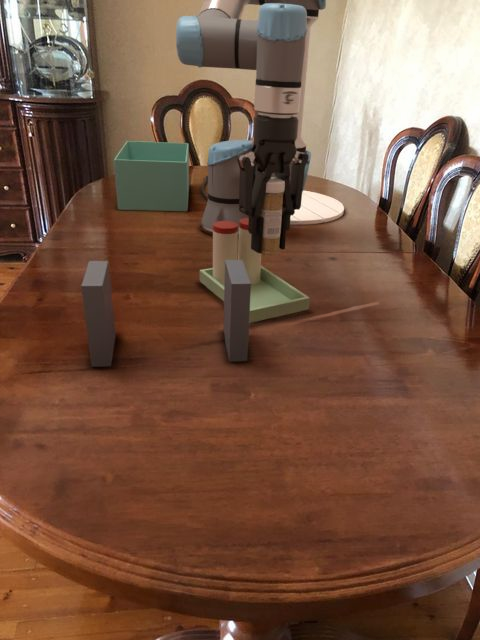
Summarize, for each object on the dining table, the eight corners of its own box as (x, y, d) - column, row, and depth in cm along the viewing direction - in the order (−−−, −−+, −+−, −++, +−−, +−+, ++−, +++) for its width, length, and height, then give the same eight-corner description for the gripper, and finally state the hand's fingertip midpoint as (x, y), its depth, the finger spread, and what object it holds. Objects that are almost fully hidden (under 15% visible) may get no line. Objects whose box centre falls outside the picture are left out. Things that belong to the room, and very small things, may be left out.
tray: (199, 284, 114) (199, 269, 112) (253, 274, 120) (254, 260, 118) (249, 326, 98) (250, 310, 96) (308, 312, 105) (310, 297, 103)
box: (117, 209, 158) (113, 159, 151) (129, 184, 185) (126, 140, 178) (187, 211, 160) (186, 162, 153) (189, 186, 188) (188, 143, 180)
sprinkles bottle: (278, 248, 102) (283, 177, 95) (280, 256, 98) (286, 182, 91) (254, 247, 101) (258, 175, 94) (256, 256, 97) (260, 181, 91)
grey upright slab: (229, 361, 87) (231, 283, 80) (223, 332, 95) (224, 259, 88) (247, 361, 87) (251, 283, 80) (239, 332, 96) (242, 259, 89)
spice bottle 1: (208, 282, 113) (208, 222, 106) (229, 279, 115) (230, 219, 108) (219, 291, 109) (220, 229, 102) (240, 287, 111) (242, 226, 105)
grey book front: (91, 367, 83) (80, 285, 76) (98, 336, 92) (89, 260, 85) (110, 366, 84) (102, 285, 77) (115, 336, 92) (108, 260, 85)
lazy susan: (248, 229, 149) (249, 217, 147) (205, 194, 179) (205, 183, 178) (367, 219, 164) (368, 208, 162) (308, 188, 194) (309, 179, 192)
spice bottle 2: (233, 278, 115) (234, 219, 109) (252, 274, 118) (255, 216, 111) (244, 286, 112) (246, 226, 105) (264, 283, 114) (268, 223, 108)
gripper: (241, 118, 81) (236, 262, 92) (331, 117, 89) (316, 249, 101) (219, 112, 86) (217, 248, 98) (306, 111, 94) (294, 237, 106)
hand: (267, 248), depth 99 cm, fingers closed on sprinkles bottle, 4 cm apart
